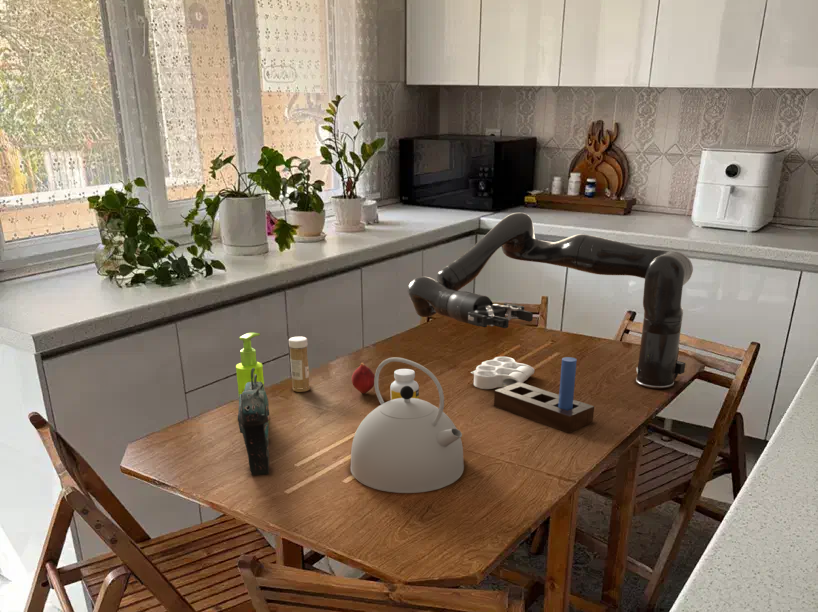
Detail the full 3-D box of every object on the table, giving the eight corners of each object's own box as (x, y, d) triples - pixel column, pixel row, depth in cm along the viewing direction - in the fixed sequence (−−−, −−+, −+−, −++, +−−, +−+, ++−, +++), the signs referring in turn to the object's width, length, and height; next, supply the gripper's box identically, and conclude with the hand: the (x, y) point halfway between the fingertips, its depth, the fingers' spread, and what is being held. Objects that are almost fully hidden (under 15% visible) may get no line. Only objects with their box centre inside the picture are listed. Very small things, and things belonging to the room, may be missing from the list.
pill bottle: (416, 426, 176) (415, 377, 172) (388, 424, 177) (387, 375, 173) (421, 415, 182) (421, 368, 178) (394, 413, 183) (393, 366, 179)
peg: (563, 418, 180) (567, 356, 174) (574, 422, 178) (579, 359, 172) (554, 421, 178) (558, 359, 172) (565, 425, 176) (570, 362, 170)
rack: (518, 397, 193) (519, 381, 191) (592, 422, 178) (594, 406, 176) (493, 406, 188) (494, 390, 186) (568, 433, 172) (569, 416, 171)
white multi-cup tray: (514, 394, 195) (460, 385, 201) (538, 373, 209) (487, 365, 216) (514, 381, 193) (460, 373, 200) (538, 361, 208) (487, 353, 214)
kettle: (495, 468, 156) (500, 360, 147) (419, 509, 141) (419, 391, 132) (404, 434, 172) (404, 335, 163) (327, 468, 157) (321, 360, 148)
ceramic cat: (274, 477, 153) (266, 381, 145) (240, 480, 152) (230, 383, 144) (273, 437, 171) (266, 349, 163) (243, 439, 170) (235, 351, 162)
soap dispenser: (274, 415, 183) (267, 332, 175) (257, 425, 177) (249, 340, 169) (253, 411, 185) (246, 329, 177) (235, 421, 179) (227, 337, 171)
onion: (380, 392, 197) (379, 361, 194) (366, 399, 192) (365, 368, 189) (361, 387, 200) (360, 357, 196) (347, 394, 195) (346, 364, 192)
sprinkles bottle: (313, 389, 199) (310, 338, 193) (299, 393, 196) (295, 342, 190) (302, 385, 202) (299, 334, 196) (288, 389, 199) (284, 338, 193)
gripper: (449, 297, 187) (499, 309, 176) (489, 288, 196) (540, 299, 184) (448, 328, 190) (498, 342, 179) (488, 317, 199) (538, 330, 187)
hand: (519, 320), depth 182 cm, fingers open, 8 cm apart
